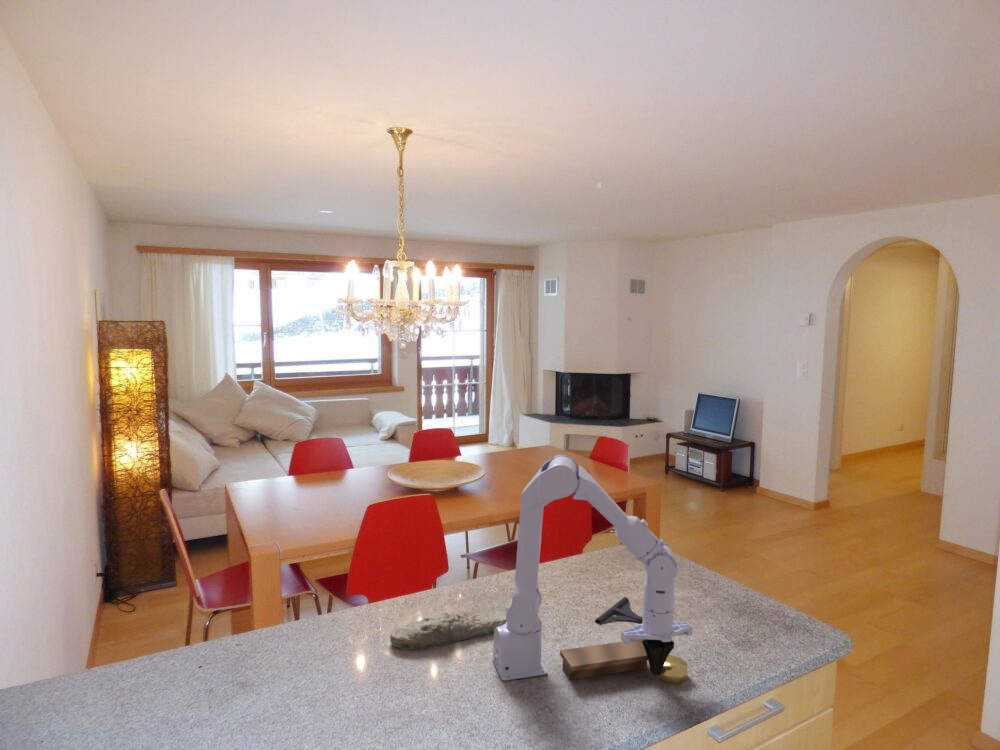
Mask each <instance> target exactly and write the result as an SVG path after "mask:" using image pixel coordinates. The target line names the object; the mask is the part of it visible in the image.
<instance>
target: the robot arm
mask: <svg viewBox="0 0 1000 750" xmlns="http://www.w3.org/2000/svg"><path fill="white" fill-rule="evenodd" d="M571 495H572V499H573V500H578V501H580V500H582V501H587V502H588V503H589V504H590V505H592V507H594V509H595V510H596V511H598V512H599V513H600V514H601V516H603V517H604V518H605V519H606V520H607V521H608V522H609V523H610V524H612V525H613V526H614V528H615V537H616V539H617V540H618V541H619V542H620V543H621V544H622V545H623V546H624V547H625V548H626V549H627V550H628V552H629V553H630V554H631V555H633V556H634V558H635V559H636V560H637V561H639V562H641V563H642V564H644V565H645V575H644V576H645V578H644V583H643V596H642V597H643V598H642V599H643V600H642V601H643V602H642V617H643V621H642V623H640V624H637V625H635V626H632V627H629V628H627V629H622V630H621V631H620V640H621V642H623V643H624V644H625V645H628V644H630V642H635V641H641V642H642V644H643V646H644V648H645V651H646V654H647V657H648V660H647V662H648V665H649V671H650V672H651V673H652V675H653V676H655V677H657V676H659V675H661V672H662V669H663V666H664V663H665V661H666V659H667V657H668V655H670V653H671V652H672V651H673V649H674V648H675V642H674V641H673V638H674V637H677V636H678V637H679V636H684V635H686V636H687V637H691V636H693V625H691V624H690V623H689V622H688V621H674V620H673V619H674V600H675V599H674V598H675V597H674V596H675V585H674V583H675V578H676V577H677V574H678V572H679V568H678V565H677V561H676V558H675V556H674V553H673V551H672V549H671V547H670V545H669V544H668V543H666V542H665V541H664V540H663V538H658V537H657V536H656V535H655V533H653V532H652V530H650V528H649V527H648V526H649V524H648V521H646V520H645V519H644V518H642V519H640V518H639V517H638V516H635V515H627V514H626V513H625V512H624V511H623V510H622V508H621V507H620V506H619V505H618V504H617V503H616V502H615V500H614V499H613V498H612V497H611V496H610V495H609V494H608V493H607V491H606V490H605V489H604V488H603V487H602V485H600V484H599V483H598V481H597V480H596V479H594V477H593V476H592V475H591V474H590V473H589V472H588V471H587V470H586V469H585V468H584V467H583V466H581V465H580V464H579V466H578V463H577V462H576V460H575V459H574V458H573V457H572V456H569V455H566V454H558V455H555V456H554V457H551V459H549V460H547V461H545V462H544V463H543V464H542V465H541V467H539V470H538V471H537V472H536V473H535V475H534V476H533V477H532V479H531V480H530V481H529V482H528V483H527V485H526V486H525V487H524V488H523V490H522V493H521V496H520V506H519V507H520V509H519V521H518V522H519V523H518V536H517V545H516V546H517V549H516V559H515V561H516V562H515V575H514V583H513V584H514V585H513V590H512V592H511V597H510V602H509V604H508V605H509V609H508V611H507V613H506V623H505V624H504V625H502V626H499V627H496V628H495V629H494V632H493V652H492V653H493V655H492V662H493V664H494V666H495V668H496V670H497V672H498V674H499V677H500V678H501V680H502V681H503V682H504V681H511V680H517V679H523V678H525V679H526V678H531V677H537V676H538V677H539V676H543V675H544V676H545V675H548V669H547V668H546V666H545V665H544V663H543V661H542V636H543V635H542V633H543V632H542V627H543V625H542V623H543V622H542V620H541V619H540V616H539V612H540V607H541V604H542V600H543V598H542V594H541V592H540V590H539V571H540V570H539V568H540V558H541V557H540V555H541V544H542V530H543V519H544V507H545V506H547V505H549V504H550V503H551V502H553V501H556V500H560V499H563V498H567V497H569V496H571Z"/></svg>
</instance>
